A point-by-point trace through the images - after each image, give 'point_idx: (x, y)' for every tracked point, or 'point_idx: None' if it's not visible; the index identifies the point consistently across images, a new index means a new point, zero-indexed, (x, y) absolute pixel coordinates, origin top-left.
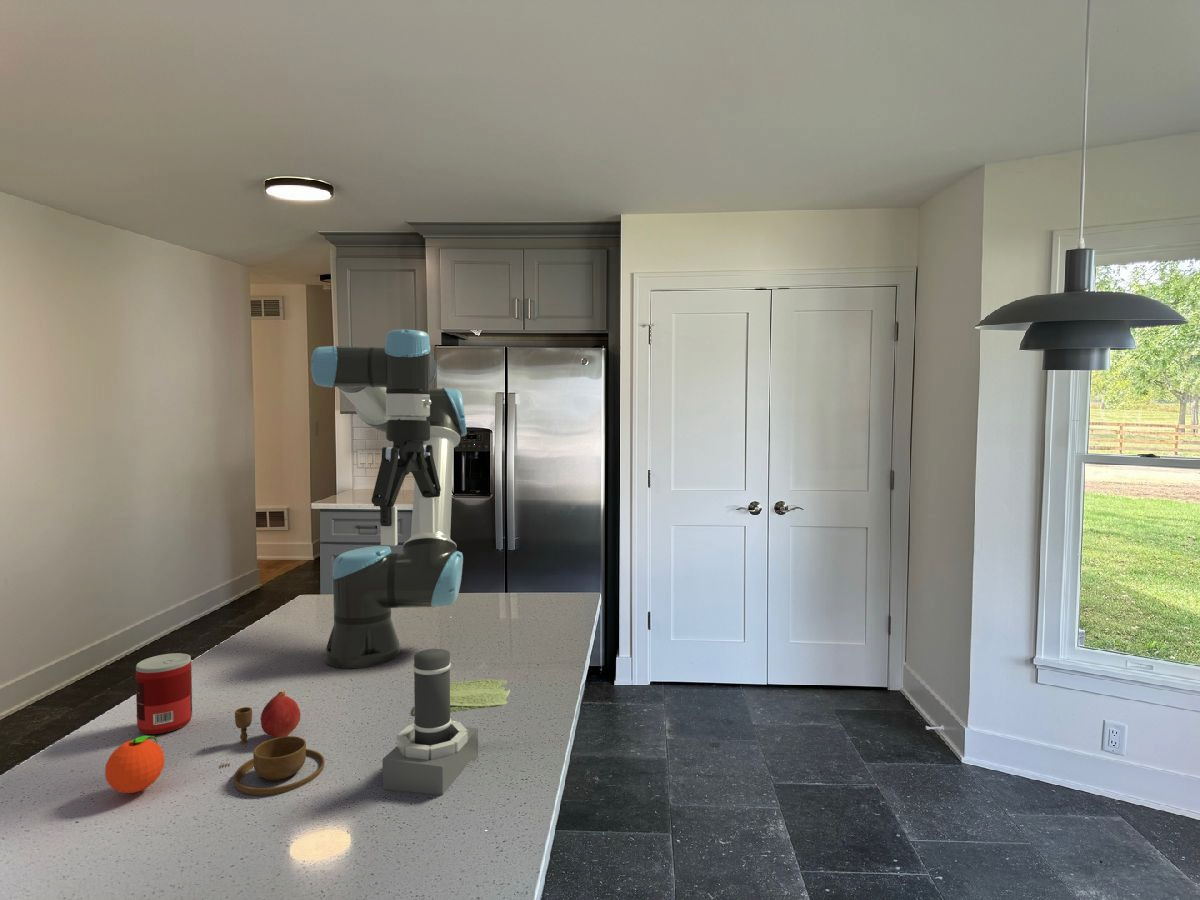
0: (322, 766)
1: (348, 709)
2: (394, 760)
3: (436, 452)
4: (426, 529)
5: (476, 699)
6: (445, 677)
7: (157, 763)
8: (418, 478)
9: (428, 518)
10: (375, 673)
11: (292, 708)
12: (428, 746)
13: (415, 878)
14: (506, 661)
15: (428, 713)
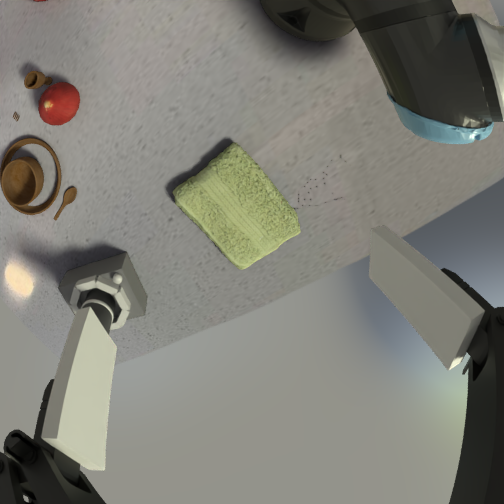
0: (49, 206)
1: (161, 94)
2: (63, 296)
3: None
4: (376, 261)
5: (228, 242)
6: None
7: None
8: (477, 465)
9: (400, 294)
10: (276, 39)
11: (56, 121)
12: None
13: (45, 338)
14: (372, 173)
15: None
